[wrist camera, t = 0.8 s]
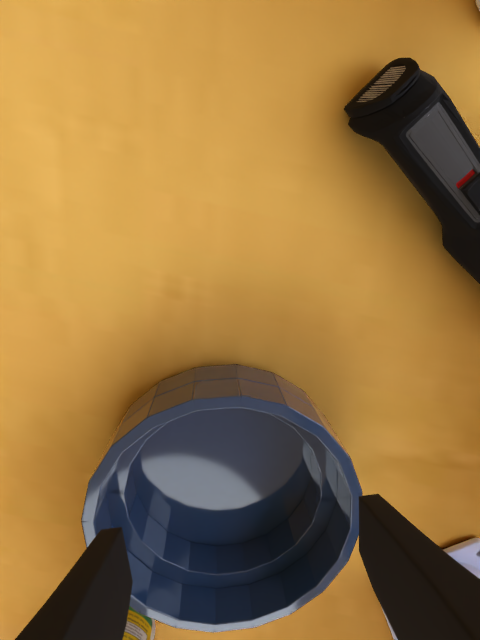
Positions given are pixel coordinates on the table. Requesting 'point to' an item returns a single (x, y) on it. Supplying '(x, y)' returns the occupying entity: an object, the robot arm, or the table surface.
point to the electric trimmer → (426, 150)
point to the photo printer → (478, 4)
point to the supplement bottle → (139, 626)
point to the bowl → (226, 499)
